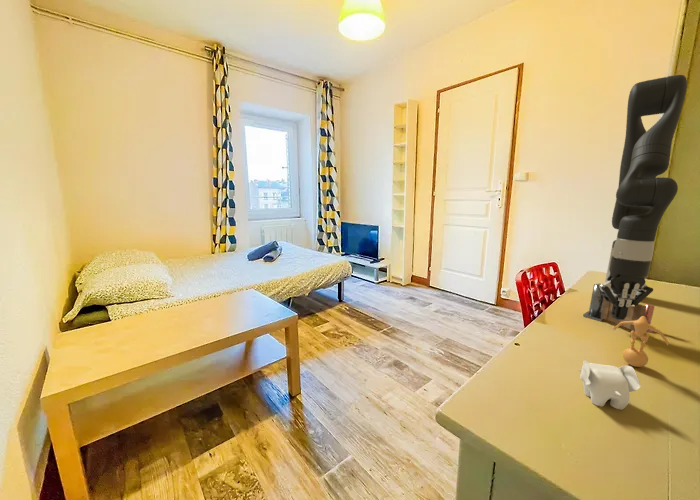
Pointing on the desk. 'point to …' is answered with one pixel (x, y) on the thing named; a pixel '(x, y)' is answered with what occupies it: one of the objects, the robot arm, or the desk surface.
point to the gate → (632, 315)
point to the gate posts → (597, 307)
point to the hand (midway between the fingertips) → (617, 318)
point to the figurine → (638, 355)
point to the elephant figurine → (609, 384)
